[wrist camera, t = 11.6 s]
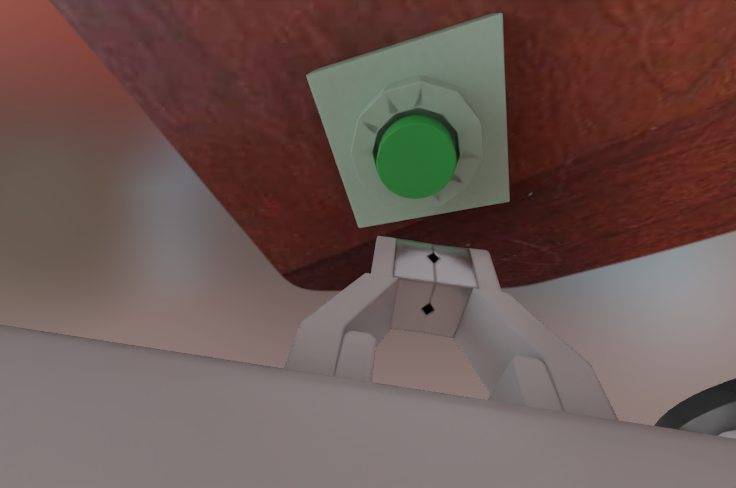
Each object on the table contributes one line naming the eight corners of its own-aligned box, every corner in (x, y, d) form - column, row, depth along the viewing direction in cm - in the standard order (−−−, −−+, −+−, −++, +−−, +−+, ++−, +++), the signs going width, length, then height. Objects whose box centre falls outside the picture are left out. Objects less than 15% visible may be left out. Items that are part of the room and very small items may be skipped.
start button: (457, 177, 18) (461, 191, 17) (388, 191, 19) (386, 205, 18) (447, 104, 16) (451, 113, 15) (370, 124, 17) (366, 134, 16)
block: (502, 186, 22) (517, 216, 19) (362, 212, 24) (354, 243, 21) (493, 12, 16) (512, 12, 13) (315, 69, 19) (295, 80, 16)
